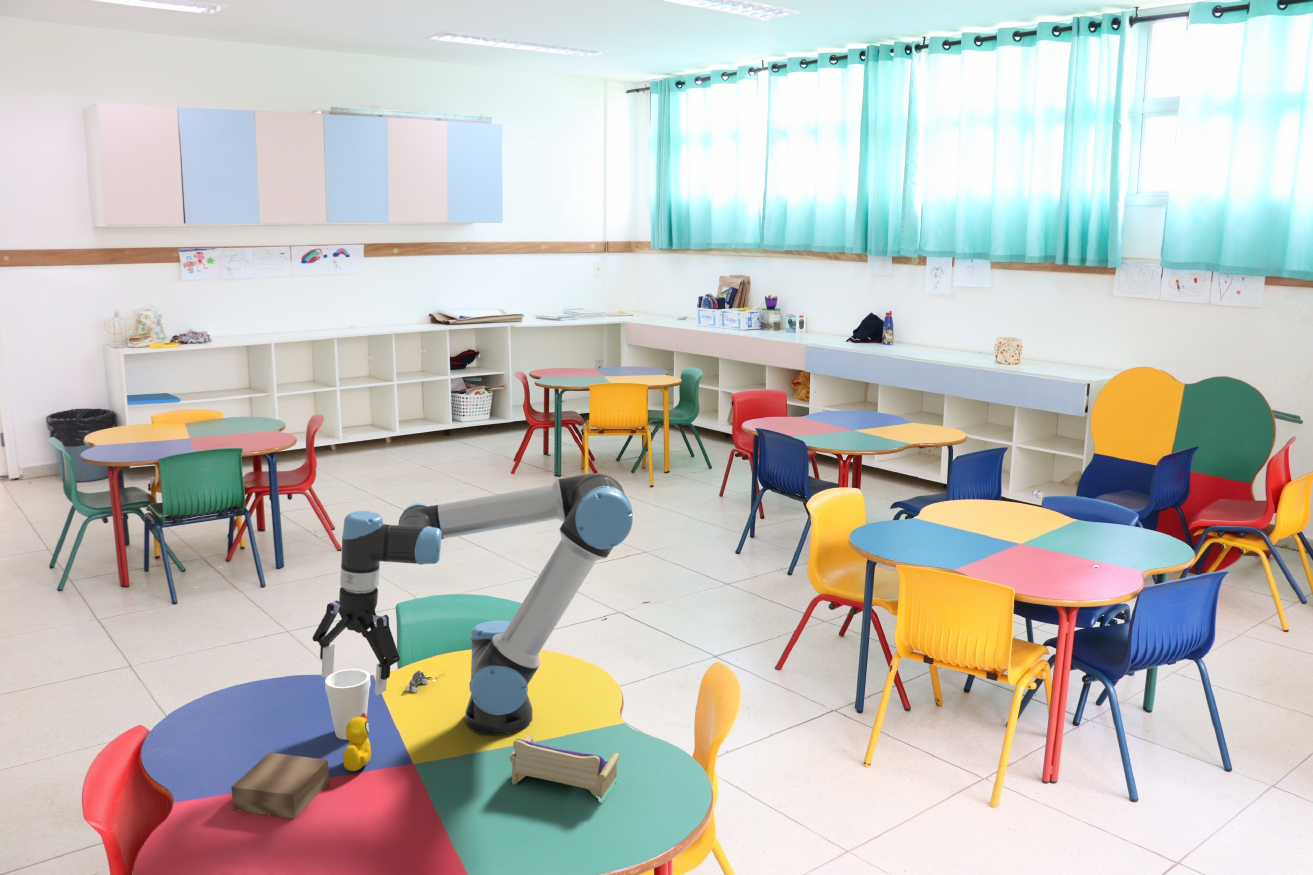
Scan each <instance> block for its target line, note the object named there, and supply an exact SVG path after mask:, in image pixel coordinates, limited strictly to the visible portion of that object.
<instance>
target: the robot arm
mask: <svg viewBox="0 0 1313 875" xmlns="http://www.w3.org/2000/svg"><path fill="white" fill-rule="evenodd" d="M398 519H399V520H398V524H397V525H395V524H393V525H392V524H385V523H384V521H383V517H382V515H381V514H380V513H378V512H373V511H369V510H368V511H367V510H359V511H353V512H350V513H348V514H347V515H346V516H345V517H344V519H343V520H344V522H343V530H342V536H341V560H340V561H341V562H340V580H339V585H340V588H339V598H338V600H334V601H332V602H329V603H327V605H326V610H325V614H324V615H323V618H322V620H321V621H320V623H319V624H318V627H317V629H316V630H315V631H314V634H313V636H312V641H313V642H317V643H318V645H319V647H320V650H319V658H320V661H321V677H322V678H323V679H324V678H325V679H326V678H327V677H328V676H329V675H331V674H332V673H334V663H335V643H334V641H335V639H336V638H337V637H338V636H339V635H340V634H341V633H342V632H343V631H344V630H345V629H347V630H348V631H354V632H356V633H357V634H358V633H359V634H361V636H362V637H363V638H365V639H366V641H367V642H368V644H369V646H370V648H371V649H372V652H373V653H374V654H375V657H376V659H377V660H378V662H379V663H378V664H376V668H375V669H376V670H375V683H374V684H375V685H374V686H375V687H374V695H376V696H379V695H380V694H383V693H384V692H386V691H387V681H388V679H389V678H390V676H391V666H392V665H394V664H396V663H398V662H399V661H401V658H400V655H399V651H398V649H397V645H396V643H395V640H394V637H393V634H392V633H393V632H392V631H391V628H390V617H389V615H387V614H384V615H377V613H376V608H377V605H378V594H379V588H378V587H379V584H380V583H379V582H380V562H383V563H403V564H413V565H414V564H418V565H435V564H437V563H438V562H439V561H440V559H441V549H442V540H444V539H451V538H455V537H456V538H457V537H461V536H468V535H474V534H479V533H485V532H490V531H495V530H496V531H497V530H502V529H508V528H515V527H520V526H525V525H531V524H537V523H543V522H548V521H553V520H554V521H555V520H559V521H561V522H562V524H561V526H560V527H559V533H560V537H561V540H560V541H559V542H558V544H557V546H556V548H555V549H554V550H553V552H552V553H551V556H550V557H549V559H548V560H547V562H546V564H545V565H544V567H543V569H542V570H541V572H540V574H539V575H538V576H537V578H536V580H535V581H534V584H533V585H532V586H531V588H530V590H529V591H528V593H527V594H526V596H525V598H524V600H523V601H522V603H521V605H520V606H519V607H518V609H517V611H516V613H515V614H514V616H513V618H512V619H511V621H510V620H491V621H490V620H489V621H484V622H481V623H478V624H476V625H474V626H473V628H472V629H471V632H470V633H471V636H470V642H471V661H470V662H471V667H470V682H469V691H470V696H469V699H468V701H467V702H468V703H467V707H466V709H465V713H464V714H465V715H464V716H465V725H466V727H468V728H469V729H470V730H471V731H473V732H475V733H477V734H481V735H486V736H504V735H508V734H509V735H510V734H514V733H517V732H519V731H522V730H524V729H526V728H527V727H528V726H530V724H531V723H532V721H533V706H532V703H531V700H530V698H529V696H528V692H529V688H528V685H529V684H530V682H531V680H532V679H533V677H534V675H535V674H536V672H537V671H538V669H539V668H540V666H541V659H540V653H541V651H542V649H543V647H544V645H545V644H546V642H547V641H548V639H549V638H550V636H551V635H552V633H553V631H554V630H555V628H556V627H557V625H558V624H559V622H560V620H561V618H562V617H563V615H564V614H565V612H566V611H567V609H568V607H569V606H570V604H571V603H572V601H573V599H574V598H575V596H576V595H577V593H578V591H579V590H580V588H581V586H582V585H583V583H584V582H585V580H586V579H587V577H588V575H589V574H590V571H592V568H593V567H594V566H595V564H596V562H597V561H602V560H605V559H607V558H608V556H610V554H611V552H612V550H613V549H614V547H617V546H619V545H620V544H622V543H623V542H624V541H625V540H626V538H627V537H628V536H629V534H630V532H631V530H632V527H633V522H634V521H633V520H634V518H633V508H632V504H631V502H630V500H629V499H628V497H627V496H626V495H625V491H624V489H623V487H622V485H621V484H620V483H619V481H617V480H616V479H615V478H613V477H611V476H610V475H607V474H604V473H599V472H598V473H586V474H585V473H584V474H579V475H576V476H575V475H574V476H570V477H564V478H558V479H555V481H554V482H553V484H552V485H551V484H550V485H549V484H548V485H545V486H539V487H538V486H537V487H534V488H528V489H521V490H517V491H509V492H504V493H499V494H494V495H487V496H481V497H477V498H476V497H475V498H470V499H464V500H458V501H453V502H446V503H440V504H435V505H427V504H424V503H413V504H411V505H408V506H407V507H406V508H405V509H404V510H403V512H402V513H401V515H400V517H399V518H398ZM338 614H339V616H340V618H341V619H340V620H339V621H337V623H336V624H335V626H334V627H333V628H332V629H331V630H330V627H331V626H332V624H333V623H334V620H335V618H336V617H337V615H338ZM369 629H370V630H369ZM329 630H330V631H329ZM332 642H333V643H332ZM530 722H531V723H530ZM529 723H530V724H529ZM523 728H524V729H523Z"/></svg>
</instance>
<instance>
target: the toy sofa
mask: <svg viewBox="0 0 1313 875" xmlns="http://www.w3.org/2000/svg"><path fill="white" fill-rule="evenodd" d="M512 744H513V751H512V752H511V754H510V755H509V758H508V759H509V761H510V762H511V785H514V784H516V783H517V782H518V783H519V782H520V781H521V780H523V779H524V778H525V777H526V776H527V777H531V778H537V779H542V780H545V781H551V782H555V783H560V784H563V785H569V786H573V787H577V788H582V789H587V790H588V791H589V792H590V793H591V794H592V796H594V795H596V796H598V797H600V798H602V797H603V795H604V793H605V792H606V791H607V789H608V788H609V787H610V785H611V784H612V782H613V781H614V779H615V778H616V777H617V778H618V776H617V772H618V771H617V766H618V764H617V763H618V761H619V759H620V754H619V753H618V752H613V753H612V755H611V756H610V758H609V759H608V760H605V758H604V757H603V756H601V755H598V754H594V753H586V752H580V751H579V752H578V751H575V750H569V749H562V748H561V749H559V748H556V747H550V746H548V745H544V744H539V743H535V742H534V738H533V736H532V735H527V736H526V737H525V738H524V739H521V738H516V739H515V740H514V741H513V743H512ZM518 783H517V784H518ZM517 784H516V785H517Z"/></svg>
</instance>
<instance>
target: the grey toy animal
mask: <svg viewBox="0 0 1313 875" xmlns="http://www.w3.org/2000/svg"><path fill="white" fill-rule="evenodd" d="M423 673H424V672H421V671H420V670H417V671H415V672H414V674H412V677H411V680H409V685H406V686H405V691H409V692H411V693H412V692H413V693H418V689H417V688H418V687H420V686H421V685H422V684H423V685H428V684H429V683H428V681H431V679H429V678H432V677H425V676H426V675H425V676H424V674H423ZM432 681H433V682H436V680H434V679H432Z"/></svg>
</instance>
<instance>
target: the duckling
mask: <svg viewBox="0 0 1313 875" xmlns="http://www.w3.org/2000/svg"><path fill="white" fill-rule="evenodd" d="M369 735H370V724H369V722H368V715H367V716H366V714H365V713H362V715H361V717H355V718H353V719H351V720H350V721H349V723H348V725H347V727H346V737H347V739H348V740H347V741H348V742H349V743H348V745H347V746H346V747H345V750H344V752H343V758H342V761H343V767H344V769H345V770H347V771H349V772H350V771H351V772H357V771H359V770H361V769H362V768H363V767H364V766H365V765H368V763H369V762H370V760H371V756H372V748H371V740H370V739H369Z"/></svg>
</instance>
